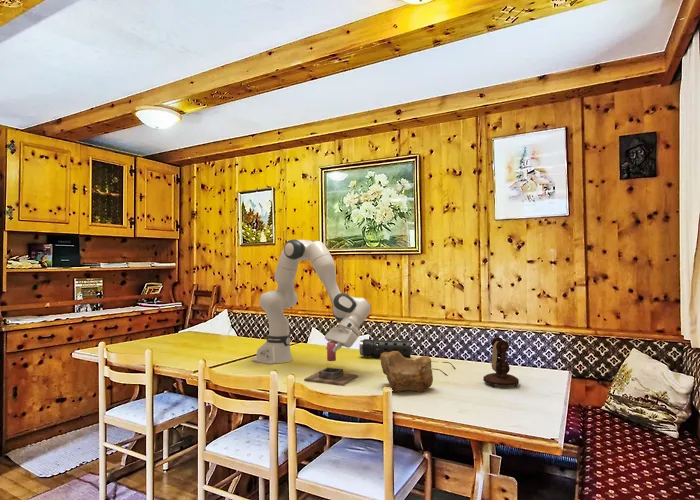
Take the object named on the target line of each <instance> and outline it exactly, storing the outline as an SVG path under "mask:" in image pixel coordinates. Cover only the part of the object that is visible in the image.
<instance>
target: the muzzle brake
mask: <svg viewBox="0 0 700 500" xmlns="http://www.w3.org/2000/svg"><path fill="white" fill-rule="evenodd" d="M411 345H412V344H411V340H398V339H397V340H395V339H393V340H389V339H387V340H386V339H385V340H384V339H374V340H373V339H371V338H364V339H362V340H360V341H359V355H361V356H363V357H371V358H372V359H378V358H380V356H381V354H382V353H384V352H391V351H398V352H400V353H401V354H402V356H403V357H405V358H409V359H411V356H412V354H411V353H412V348H411V347H412V346H411Z"/></svg>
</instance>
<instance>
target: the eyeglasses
mask: <svg viewBox="0 0 700 500" xmlns="http://www.w3.org/2000/svg"><path fill="white" fill-rule="evenodd" d="M431 363H438V361H435V360H434V361H433V360H431ZM442 363H445V364H450V365H451V367H453V370H457V369H456V367H455V366H454V365H453V364H452V363H451V362H448V361H442ZM431 369H432V370H435V371H440V372H441V373H442V374H444V375H445V376H449V375H448V374H447V373H445V372H444V371H442V369H439V368H432V367H431Z"/></svg>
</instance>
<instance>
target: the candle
mask: <svg viewBox="0 0 700 500" xmlns="http://www.w3.org/2000/svg"><path fill="white" fill-rule="evenodd" d="M336 345H337V344H336V343H335V342H332V341H331V342H329V343H328V342H327V343H326V347H327V349H326V353H327V355H326V357H327V358H326V361H327V362H335V361H336V360H337V359H336V358H337V356H336V355H337V354H336V353H337V351H336V352H335V353H334V352H333V351H332V349H333V347H335V346H336Z"/></svg>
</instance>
